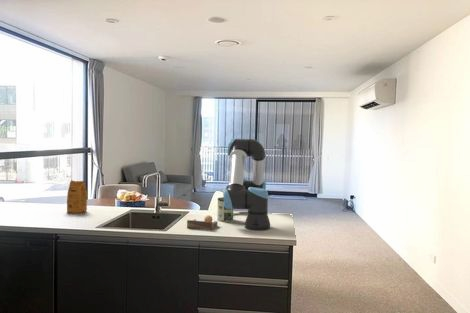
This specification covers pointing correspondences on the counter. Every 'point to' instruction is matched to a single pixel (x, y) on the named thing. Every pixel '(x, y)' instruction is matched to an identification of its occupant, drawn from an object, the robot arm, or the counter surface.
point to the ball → (208, 218)
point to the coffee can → (224, 212)
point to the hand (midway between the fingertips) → (229, 205)
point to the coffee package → (77, 197)
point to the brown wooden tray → (201, 225)
